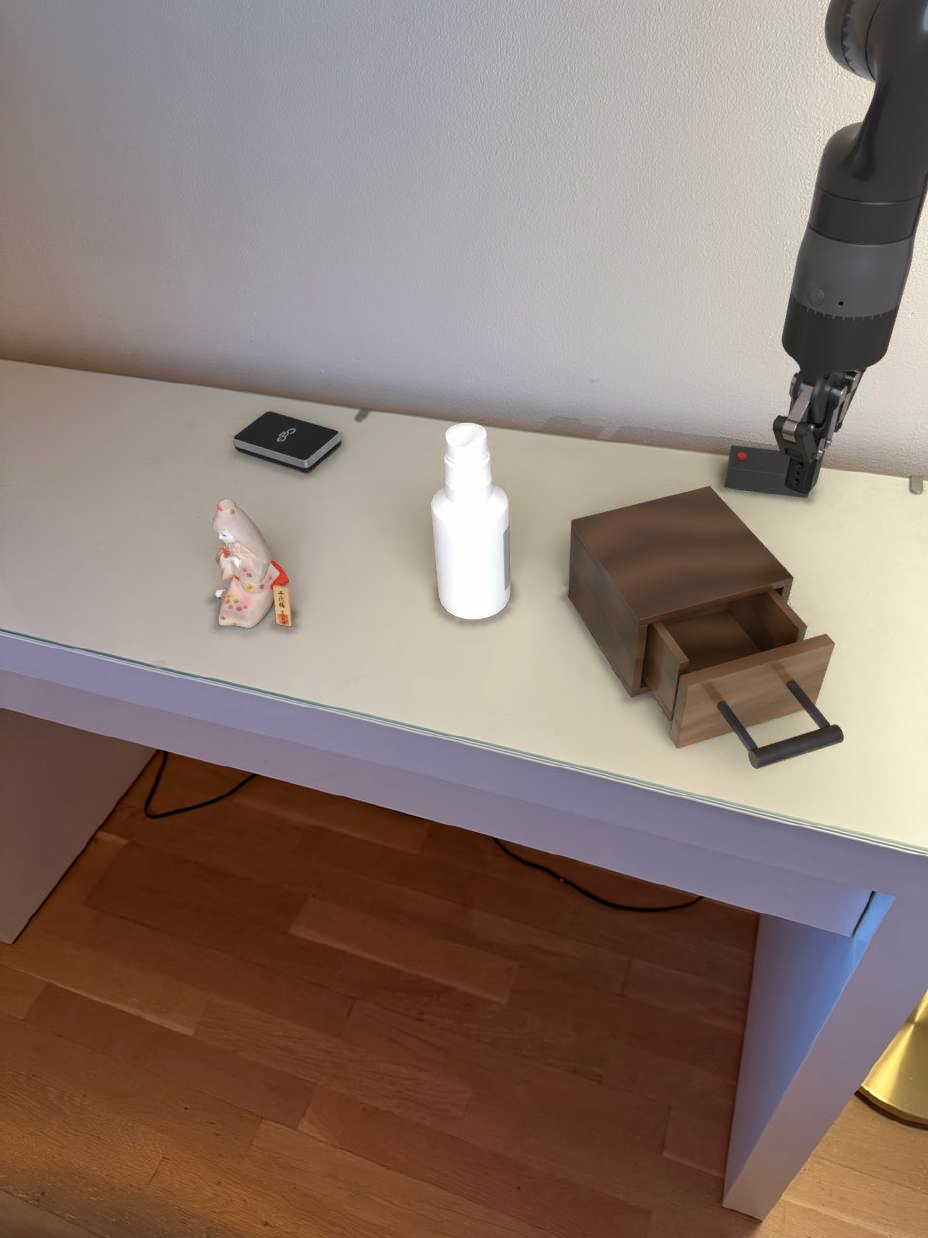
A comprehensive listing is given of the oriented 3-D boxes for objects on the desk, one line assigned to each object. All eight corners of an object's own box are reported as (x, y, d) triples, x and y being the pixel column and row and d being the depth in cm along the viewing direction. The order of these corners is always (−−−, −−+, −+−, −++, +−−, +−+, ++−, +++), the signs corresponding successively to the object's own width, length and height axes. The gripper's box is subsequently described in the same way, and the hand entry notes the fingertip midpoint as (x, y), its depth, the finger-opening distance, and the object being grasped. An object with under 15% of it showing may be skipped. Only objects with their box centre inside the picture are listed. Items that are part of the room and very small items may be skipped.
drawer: (862, 764, 71) (887, 701, 66) (716, 811, 68) (731, 749, 63) (735, 608, 84) (748, 546, 79) (609, 643, 81) (614, 581, 76)
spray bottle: (524, 588, 89) (523, 424, 76) (485, 631, 85) (477, 465, 72) (465, 564, 92) (455, 403, 79) (424, 604, 88) (407, 441, 75)
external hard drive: (271, 424, 112) (268, 409, 111) (345, 446, 108) (343, 431, 107) (233, 453, 108) (230, 438, 107) (309, 477, 104) (306, 462, 103)
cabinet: (773, 656, 81) (794, 577, 74) (631, 697, 78) (639, 619, 72) (697, 562, 90) (710, 485, 84) (567, 596, 88) (570, 519, 81)
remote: (808, 474, 100) (814, 451, 98) (807, 498, 97) (813, 475, 95) (727, 464, 102) (731, 442, 100) (723, 487, 99) (727, 464, 97)
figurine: (194, 620, 88) (167, 506, 81) (238, 584, 93) (217, 475, 86) (273, 643, 84) (252, 526, 77) (314, 604, 89) (298, 492, 82)
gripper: (863, 339, 61) (810, 544, 73) (931, 265, 68) (873, 463, 80) (756, 312, 64) (722, 512, 76) (832, 245, 72) (790, 437, 84)
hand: (799, 486), depth 78 cm, fingers closed
